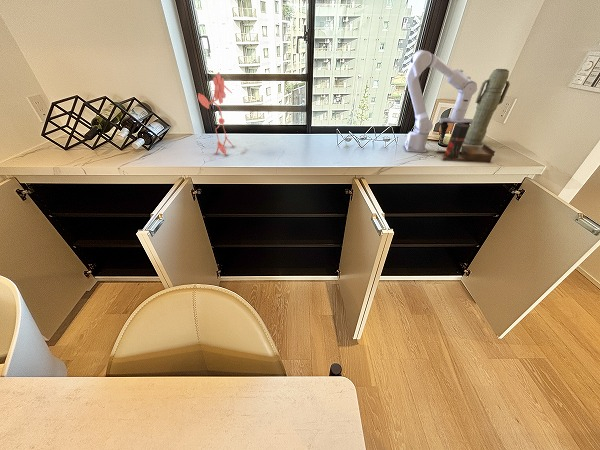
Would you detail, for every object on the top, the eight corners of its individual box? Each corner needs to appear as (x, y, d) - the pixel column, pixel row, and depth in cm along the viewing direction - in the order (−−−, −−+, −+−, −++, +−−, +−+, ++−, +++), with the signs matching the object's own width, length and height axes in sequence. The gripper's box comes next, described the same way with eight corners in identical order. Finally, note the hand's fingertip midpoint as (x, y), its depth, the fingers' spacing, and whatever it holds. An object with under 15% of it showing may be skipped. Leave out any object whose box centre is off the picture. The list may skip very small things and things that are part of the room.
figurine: (207, 160, 123) (188, 76, 102) (227, 142, 143) (214, 69, 122) (238, 162, 121) (225, 77, 100) (253, 143, 142) (245, 69, 121)
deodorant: (458, 159, 124) (471, 127, 115) (445, 158, 125) (457, 126, 116) (455, 154, 128) (467, 123, 119) (442, 153, 129) (453, 123, 120)
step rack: (443, 160, 123) (447, 149, 120) (437, 152, 131) (440, 141, 128) (490, 162, 120) (496, 151, 117) (481, 154, 129) (486, 143, 125)
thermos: (487, 145, 139) (520, 70, 118) (464, 145, 139) (494, 70, 118) (479, 140, 146) (509, 68, 125) (457, 139, 146) (484, 68, 125)
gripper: (446, 110, 118) (437, 140, 126) (480, 111, 117) (468, 141, 125) (442, 107, 124) (433, 135, 132) (474, 108, 122) (463, 136, 130)
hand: (450, 138), depth 129 cm, fingers open, 7 cm apart
